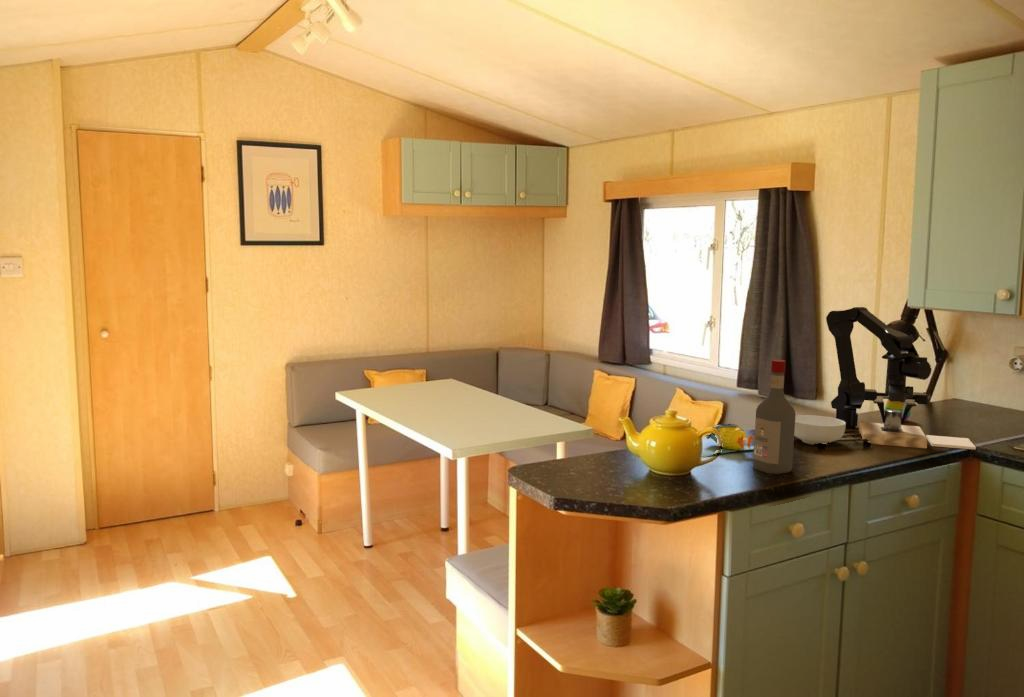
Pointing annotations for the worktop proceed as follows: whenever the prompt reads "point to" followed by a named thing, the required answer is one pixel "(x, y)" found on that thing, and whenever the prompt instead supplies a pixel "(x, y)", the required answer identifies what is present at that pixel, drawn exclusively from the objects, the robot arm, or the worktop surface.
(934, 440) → the ceramic tile
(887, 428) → the metal part
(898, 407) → the decorative egg
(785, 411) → the liquor
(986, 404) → the worktop surface
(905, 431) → the pocket block
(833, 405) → the robot arm
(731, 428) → the colourful shoe
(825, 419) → the cereal bowl
